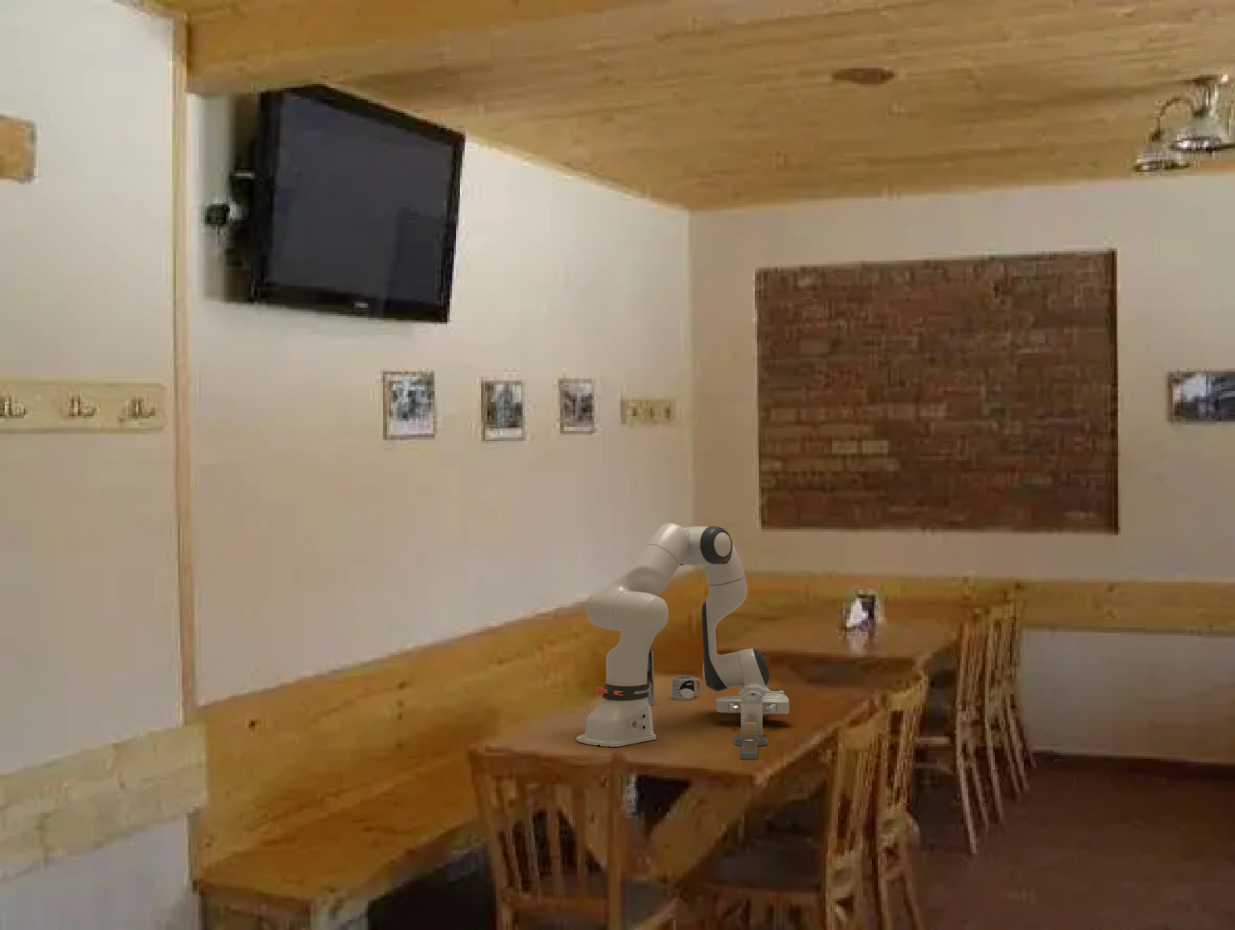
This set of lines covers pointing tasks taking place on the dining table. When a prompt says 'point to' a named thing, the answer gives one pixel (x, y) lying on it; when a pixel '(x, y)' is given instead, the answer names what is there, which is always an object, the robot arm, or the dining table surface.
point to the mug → (684, 687)
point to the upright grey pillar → (751, 712)
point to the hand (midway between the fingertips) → (752, 710)
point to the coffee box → (650, 677)
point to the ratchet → (750, 741)
